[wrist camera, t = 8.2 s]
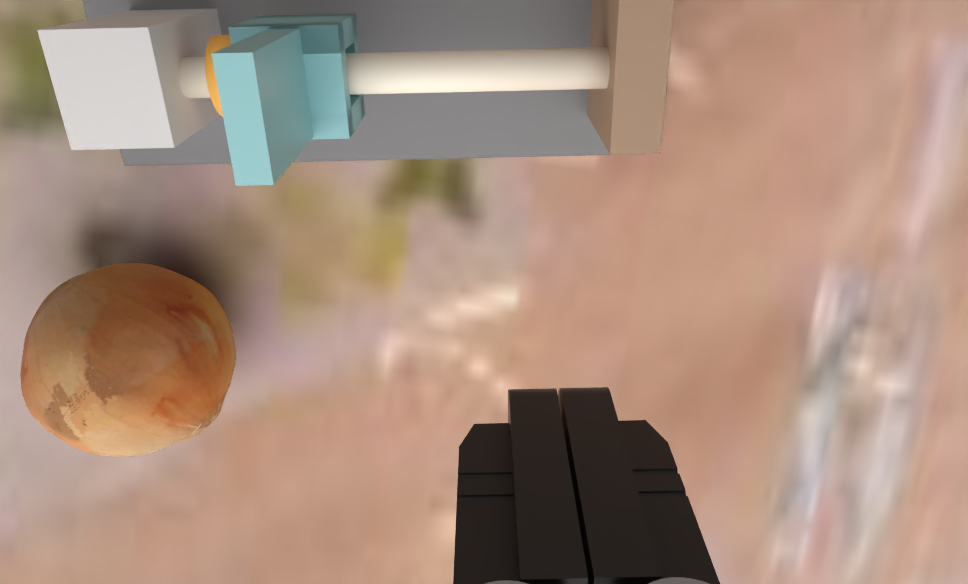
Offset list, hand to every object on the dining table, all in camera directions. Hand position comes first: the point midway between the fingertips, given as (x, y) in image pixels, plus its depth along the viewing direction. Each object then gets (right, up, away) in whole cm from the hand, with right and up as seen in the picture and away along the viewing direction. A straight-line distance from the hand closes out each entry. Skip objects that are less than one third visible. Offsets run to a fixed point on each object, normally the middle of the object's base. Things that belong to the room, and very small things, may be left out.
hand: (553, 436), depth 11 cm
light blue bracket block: (-8, +12, +20) cm, 25 cm away
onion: (-19, +1, +30) cm, 35 cm away
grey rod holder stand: (-6, +14, +23) cm, 28 cm away
